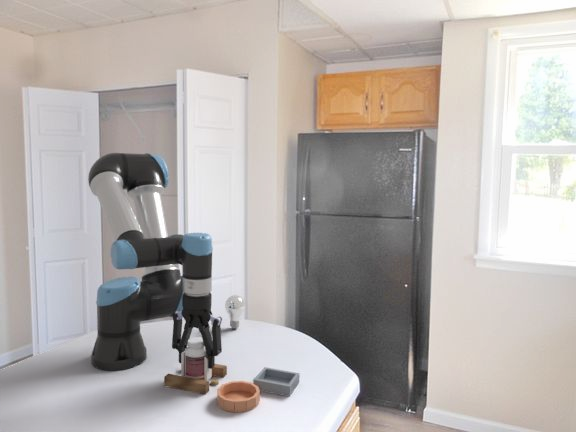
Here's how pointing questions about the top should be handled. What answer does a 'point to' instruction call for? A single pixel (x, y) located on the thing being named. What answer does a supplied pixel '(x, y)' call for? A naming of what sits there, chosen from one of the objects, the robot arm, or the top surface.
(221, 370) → the cradle
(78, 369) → the top surface
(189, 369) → the pill bottle
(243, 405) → the terracotta round dish
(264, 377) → the trough
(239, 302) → the light bulb
